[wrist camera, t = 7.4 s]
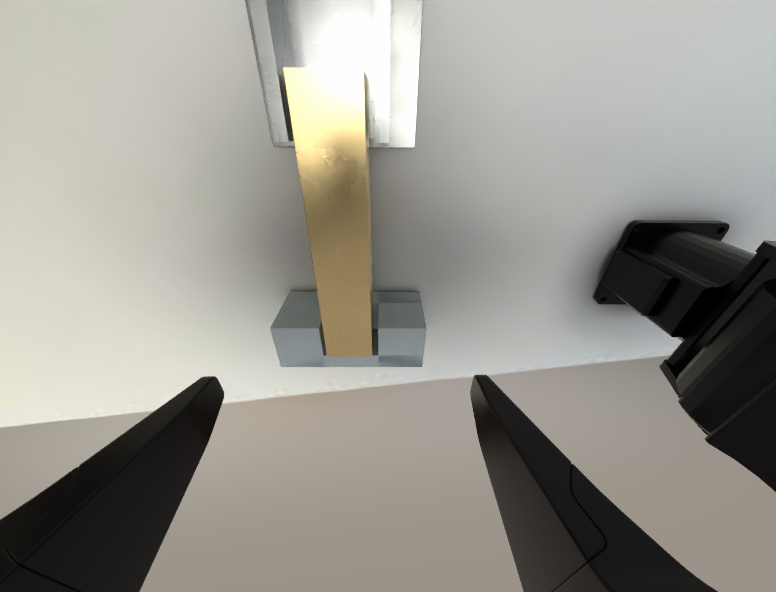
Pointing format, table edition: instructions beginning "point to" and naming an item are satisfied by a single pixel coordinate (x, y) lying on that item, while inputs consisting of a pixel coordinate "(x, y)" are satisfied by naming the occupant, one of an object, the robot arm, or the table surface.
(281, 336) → the slate-blue socket
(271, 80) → the grey sleeve
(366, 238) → the tan square rod
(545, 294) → the table surface
